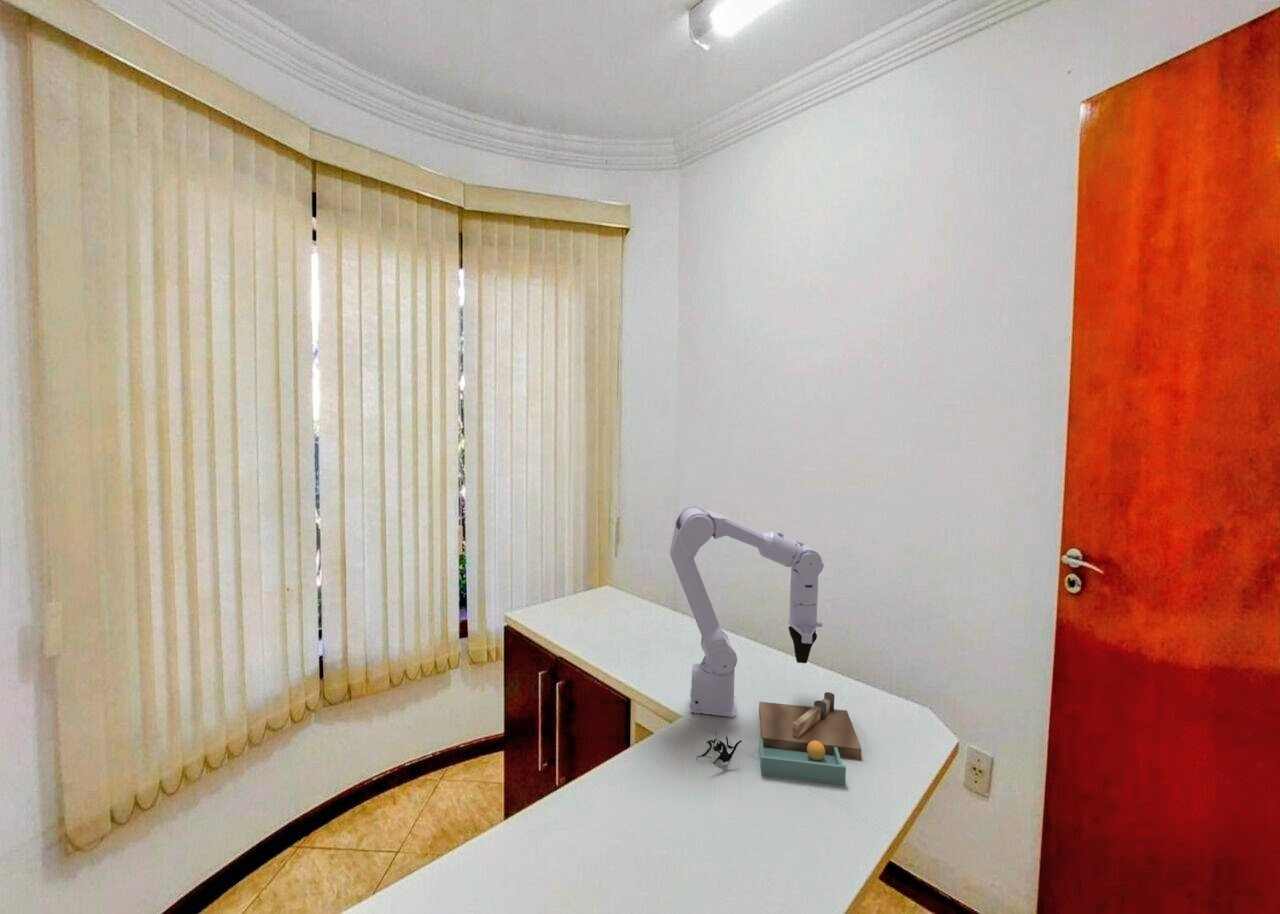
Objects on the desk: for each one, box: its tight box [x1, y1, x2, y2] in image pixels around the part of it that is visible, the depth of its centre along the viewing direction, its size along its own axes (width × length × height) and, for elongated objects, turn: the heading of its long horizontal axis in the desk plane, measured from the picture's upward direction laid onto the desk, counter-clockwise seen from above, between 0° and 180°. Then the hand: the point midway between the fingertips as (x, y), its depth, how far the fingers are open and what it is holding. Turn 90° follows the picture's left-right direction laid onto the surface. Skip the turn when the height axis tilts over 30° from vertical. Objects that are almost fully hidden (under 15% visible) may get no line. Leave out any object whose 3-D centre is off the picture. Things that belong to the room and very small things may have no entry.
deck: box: [758, 701, 863, 760], centre depth 106 cm, size 18×13×2 cm
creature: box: [696, 730, 743, 766], centre depth 98 cm, size 8×5×8 cm
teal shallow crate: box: [758, 737, 847, 786], centre depth 96 cm, size 14×8×3 cm, turn 80°
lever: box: [792, 691, 835, 737], centre depth 106 cm, size 15×2×3 cm, turn 134°
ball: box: [807, 741, 825, 760], centre depth 98 cm, size 3×3×3 cm
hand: (801, 661), depth 116 cm, fingers closed
